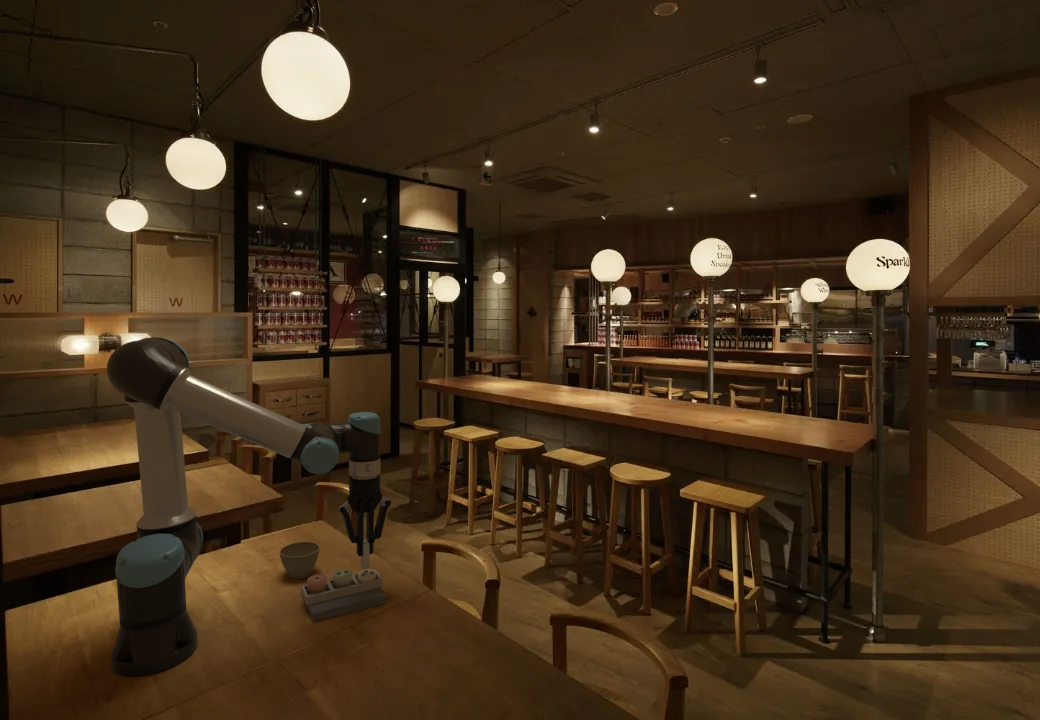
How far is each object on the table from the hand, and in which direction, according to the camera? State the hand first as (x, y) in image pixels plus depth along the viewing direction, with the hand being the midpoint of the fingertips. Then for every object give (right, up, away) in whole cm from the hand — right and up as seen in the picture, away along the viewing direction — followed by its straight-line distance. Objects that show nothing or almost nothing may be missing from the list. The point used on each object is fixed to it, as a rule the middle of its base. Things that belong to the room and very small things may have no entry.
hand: (365, 566), depth 145 cm
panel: (-5, -7, -2) cm, 9 cm away
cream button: (0, -4, +1) cm, 4 cm away
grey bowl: (-20, -6, +10) cm, 23 cm away
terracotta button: (-10, -3, -6) cm, 12 cm away
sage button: (-5, -3, -3) cm, 6 cm away
